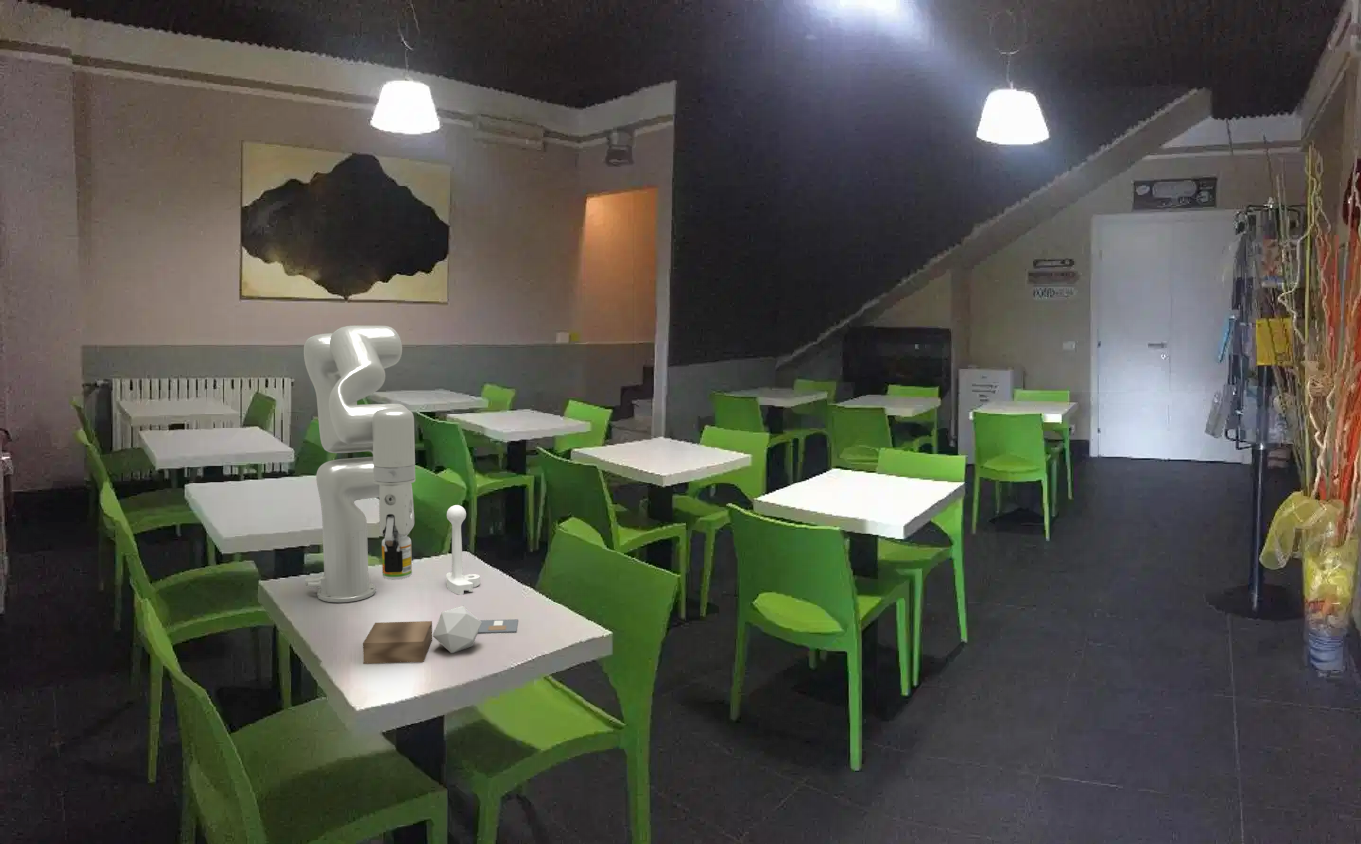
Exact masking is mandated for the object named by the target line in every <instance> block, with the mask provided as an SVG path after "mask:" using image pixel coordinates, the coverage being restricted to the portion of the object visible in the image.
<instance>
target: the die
mask: <svg viewBox="0 0 1361 844" xmlns="http://www.w3.org/2000/svg"><path fill="white" fill-rule="evenodd" d="M480 620H481V619H479V618H478V617H477V616H476V615H474V614H473V613H472V612H471V611H470V610H469V609H467V608H466V607H465V606H464V605H461V606H457V607H453V608H451V609H447V610H444V611H441V614H440V615H439V619H438V621H437V623H436V626H435V629H434V632H433V633H432V638H433V639H435V640H436V641H437V642H438V643H439V644H441V646H443V647H444V648H445V649H446V650H447V651H448V652H450V653H451V654H454V653H458V652H459V651H463V650H465V649H468V648H471V647H473V646H474V643H475V641H476V638H477V636H478V634H477V633H478V631H479V628H480V625H481V623H482V622H481V621H480Z"/></svg>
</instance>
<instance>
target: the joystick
mask: <svg viewBox="0 0 1361 844" xmlns="http://www.w3.org/2000/svg"><path fill="white" fill-rule="evenodd" d="M466 517H467V512H466V509H465V508H464V507H463V506H461V505H459V504H455V505H452V506H450V507H449V508H448V509H447V511H446V519H447V520H448V521H449V522H450V523H451V572H447V573H446V576H445V577H446V587H447V589H448V590H449V591H450V592H451V593H453V594H455V595H459V596H462V595H464V594H465V593H464V591H466V592H473V591H474V589H473V588H477V587H479V585H480V584H481V576H480V574H475V573H474V574H473V573H469V574H464V567H463V563H464V562H463V545H462V544H463V543H462V542H463V541H462V524H463V522H464V521H465V520H466Z"/></svg>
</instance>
